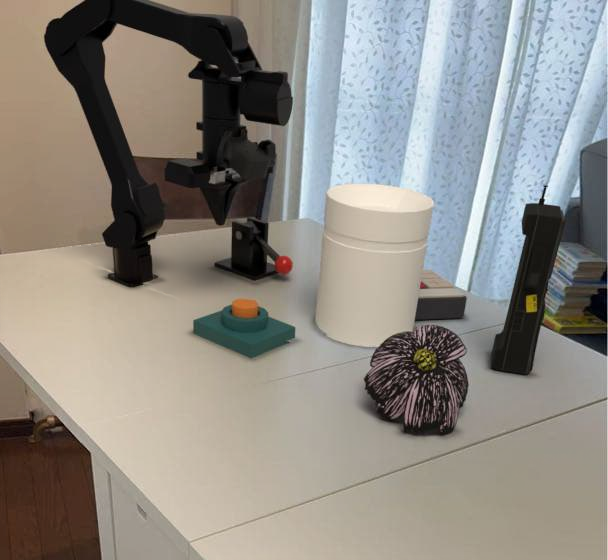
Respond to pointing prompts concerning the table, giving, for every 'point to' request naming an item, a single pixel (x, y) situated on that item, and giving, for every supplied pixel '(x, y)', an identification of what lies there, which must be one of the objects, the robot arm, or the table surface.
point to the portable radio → (529, 288)
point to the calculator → (438, 298)
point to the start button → (245, 308)
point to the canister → (371, 262)
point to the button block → (244, 331)
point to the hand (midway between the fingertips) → (220, 224)
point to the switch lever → (271, 252)
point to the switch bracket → (248, 252)
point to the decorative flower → (419, 379)
